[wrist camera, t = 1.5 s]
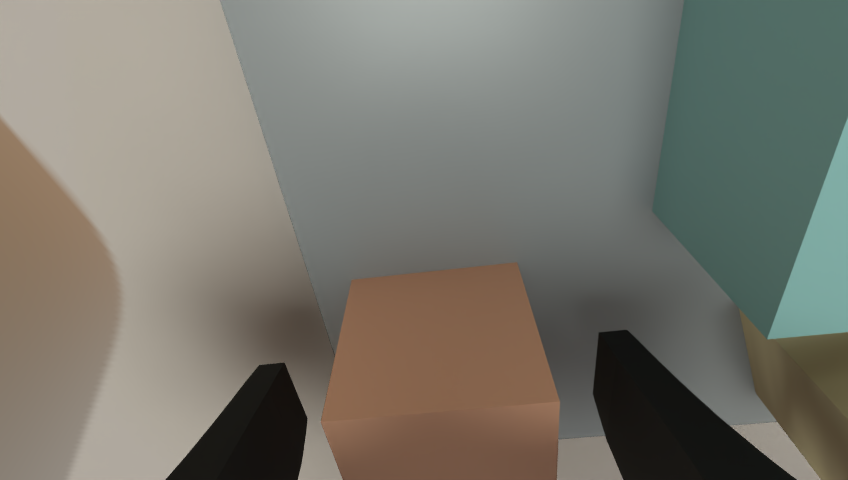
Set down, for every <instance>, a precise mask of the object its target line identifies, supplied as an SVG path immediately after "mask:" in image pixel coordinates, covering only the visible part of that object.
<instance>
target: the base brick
mask: <svg viewBox="0 0 848 480" xmlns="http://www.w3.org/2000/svg"><path fill="white" fill-rule="evenodd" d="M652 211H653V213H654V214H655V215H656V216H657V217H658V218H659V219H660V220H661V222H662V223H663V224H664V225H665V226H666V227H667V228H668V229H669V230H670V232H671V233H672V234H673V235H674V236H675V237H676V238H677V239H678V241H679V242H680V243H681V244H682V245H683V246H684V247H685V248H686V249H687V251H688V252H689V253H690V254H691V255H692V256H693V257H694V258H695V260H696V261H697V262H698V263H699V264H700V265H701V266H702V267H703V268H704V270H705V271H706V272H707V273H708V274H709V275H710V276H711V277H712V279H713V280H714V281H715V282H716V283H717V284H718V285H719V286H720V287H721V289H722V290H723V291H724V292H725V293H726V294H727V295H728V296H729V298H730V299H731V300H732V301H733V302H734V303H735V304H736V305H737V306H738V308H739V309H740V310H741V311H742V312H743V313H744V314H745V315H746V317H747V318H748V319H749V320H750V321H751V322H752V323H753V324H754V325H755V327H756V328H757V329H758V330H759V331H760V332H761V333H762V334H763V336H764V337H765V338H766V339H777V338H788V337H799V336H810V335H821V334H832V333H843V332H848V0H684V5H683V11H682V18H681V25H680V31H679V38H678V44H677V51H676V57H675V64H674V70H673V77H672V84H671V90H670V97H669V103H668V110H667V116H666V123H665V130H664V136H663V143H662V149H661V156H660V162H659V169H658V175H657V182H656V189H655V195H654V202H653V208H652Z"/></svg>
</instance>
